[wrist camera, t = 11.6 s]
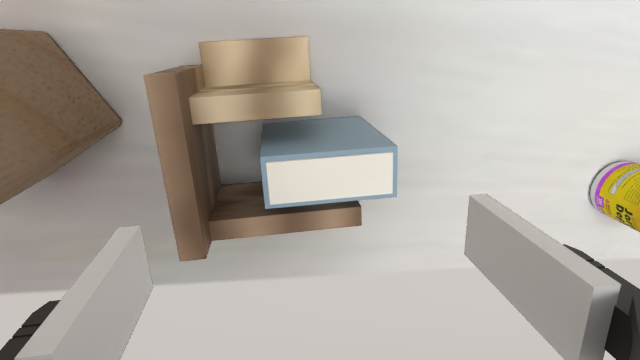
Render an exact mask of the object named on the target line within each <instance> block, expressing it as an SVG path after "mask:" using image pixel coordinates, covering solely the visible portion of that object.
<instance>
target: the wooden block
mask: <svg viewBox="0 0 640 360" xmlns="http://www.w3.org/2000/svg"><path fill="white" fill-rule="evenodd" d="M120 124H121V120H120V119H119V117H118V116H117V115H116V114H115V113H114V112H113V110H112V109H111V108H110V107H109V106H108V104H107V103H106V102H105V101H104V100H103V99H102V97H101V96H100V95H99V94H98V93H97V92H96V90H95V89H94V88H93V87H92V86H91V85H90V83H89V82H88V81H87V80H86V79H85V78H84V76H83V75H82V74H81V73H80V72H79V71H78V69H77V68H76V67H75V66H74V65H73V63H72V62H71V61H70V60H69V59H68V58H67V56H66V55H65V54H64V53H63V52H62V51H61V49H60V48H59V47H58V46H57V45H56V44H55V42H54V41H53V40H52V39H51V38H50V37H49V35H48V34H46V33H45V32H43V31H24V30H6V29H0V204H2V203H4V202H5V201H7V200H9V199H10V198H12V197H14V196H15V195H17V194H19V193H20V192H22V191H24V190H25V189H27V188H29V187H30V186H32V185H34V184H36V183H37V182H39V181H41V180H42V179H44V178H46V177H47V176H49V175H50V174H51V173H53V172H54V171H56V170H57V169H59V168H60V167H61V166H63V165H64V164H66V163H67V162H69V161H70V160H71V159H73V158H74V157H76V156H77V155H79V154H80V153H81V152H83V151H84V150H86V149H87V148H89V147H90V146H91V145H93V144H94V143H96V142H97V141H99V140H100V139H101V138H103V137H104V136H106V135H107V134H109V133H110V132H111V131H113V130H114V129H116V128H117V127H119V126H120Z"/></svg>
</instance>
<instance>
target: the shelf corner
mask: <svg viewBox="0 0 640 360" xmlns="http://www.w3.org/2000/svg"><path fill="white" fill-rule="evenodd" d="M144 80H145V85H146V90H147V95H148V101H149V106H150V111H151V116H152V121H153V126H154V131H155V136H156V142H157V147H158V152H159V157H160V162H161V167H162V172H163V177H164V183H165V188H166V193H167V198H168V203H169V208H170V213H171V218H172V224H173V229H174V234H175V239H176V244H177V249H178V254H179V259H180V261H189V260H198V259H206V258H207V254H208V251H209V248H210V244H211V241H214V240H224V239H234V238H243V237H253V236H263V235H273V234H283V233H292V232H302V231H312V230H322V229H332V228H342V227H351V226H361V225H362V222H361V205H360V204H359V202H358V200H357V201H346V202H335V203H325V204H314V205H303V206H293V207H282V208H271V209H265V202H264V193H263V183H262V182H254V183H243V184H232V185H221V182H220V175H219V168H218V161H217V154H216V147H215V140H214V133H213V127H212V123H207V124H194V125H193V123H192V117H191V111H190V105H189V98H190V97H191V96H193V95H194V94H196V93H197V92H199V91H200V90H202V89H203V88H205V81H204V74H203V68H202V65H191V66H180V67H176V68H172V69H168V70H164V71H160V72H156V73H152V74H148V75H144Z"/></svg>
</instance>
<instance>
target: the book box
mask: <svg viewBox="0 0 640 360" xmlns="http://www.w3.org/2000/svg"><path fill="white" fill-rule="evenodd" d="M260 164H261V174H262V183H263V193H264V202H265V209H271V208H282V207H293V206H303V205H314V204H325V203H335V202H346V201H357V200H368V199H378V198H389V197H397V145H396V144H394V143H393V142H392V141H391V140H389V139H388V138H387V137H386V136H384V135H383V134H382V133H381V132H379V131H378V130H377V129H376V128H374V127H373V126H372V125H371V124H369V123H368V122H367V121H366V120H364V119H363V118H362V117H361V116H354V117H341V118H327V119H313V120H300V121H286V122H272V123H263V128H262V139H261V149H260Z"/></svg>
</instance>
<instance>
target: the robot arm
mask: <svg viewBox="0 0 640 360" xmlns="http://www.w3.org/2000/svg"><path fill="white" fill-rule="evenodd" d="M464 254H465V255H466V256H467V257H468V259H469V260H470V261H471V262H472V263H473V264H474V265H475V266H476V267H477V268H478V269H479V270H480V271H481V272H482V273H483V274H484V275H485V276H486V277H487V279H488V280H489V281H490V282H491V283H492V284H493V285H494V286H495V287H496V288H497V289H498V290H499V291H500V292H501V293H502V294H503V295H504V296H505V297H506V298H507V299H508V301H509V302H510V303H511V304H512V305H513V306H514V307H515V308H516V309H517V310H518V311H519V312H520V313H521V314H522V315H523V316H524V317H525V318H526V320H527V321H528V322H529V323H530V324H531V325H532V326H533V327H534V328H535V329H536V330H537V331H538V332H539V333H540V334H541V335H542V336H543V337H544V338H545V339H546V341H548V343H549V344H550V345H551V346H552V347H553V348H554V349H555V350H556V351H557V352H558V353H559V354H560V355H561V356H562V357H563V358H564V359H565V360H603V357H604V353H605V350H606V351H607V352H609V353H610V354H611V355H612V356H613V357H614V358H616V360H640V289H639V288H637V287H635V286H634V285H632V284H631V283H629V282H628V281H626V280H625V279H623V278H622V277H620V276H619V275H617V274H616V273H614V272H613V271H611V270H610V269H608V268H605V266H603V265H602V264H600V263H599V262H597V261H594V259H593V258H591V257H590V256H588V255H587V254H585V253H584V252H582V251H580V250H577V249H575V248H572V247H570V246H568V245H565V244H564V245H562V244H561V243H559V242H558V241H556V240H555V239H553V238H552V237H550V236H549V235H547V234H546V233H544V232H543V231H541V230H540V229H538V228H537V227H535V226H534V225H532V224H531V223H529V222H528V221H527V220H525V219H524V218H522V217H521V216H519V215H518V214H516V213H515V212H513V211H512V210H510V209H509V208H507V207H506V206H504V205H503V204H501V203H500V202H498V201H497V200H495V199H494V198H492V197H491V196H489V195H488V194H479V195H469V206H468V218H467V229H466V240H465V252H464ZM152 289H153V285H152V280H151V275H150V270H149V266H148V261H147V256H146V251H145V247H144V242H143V237H142V232H141V228H140V225H139V226H128V227H119V228H118V229H117V230H116V231H115V233H114V234H113V235H112V237H111V238H110V239H109V240H108V242H107V243H106V244H105V245H104V247H103V248H102V249H101V250H100V252H99V253H98V254H97V255H96V257H95V258H94V259H93V260H92V262H91V263H90V264H89V265H88V267H87V268H86V269H85V270H84V272H83V273H82V274H81V275H80V277H79V278H78V279H77V280H76V282H75V283H74V284H73V285H72V287H71V288H70V289H69V290H68V292H67V293H66V294H65V296H64V297H63V298H62V299H61V300H57V301H49V302H48V303H46V304H45V305H43V306H42V307H41V308H39V309H38V310H36V311H35V312H33V313H32V314H31V315H30V317H29V318H28V319H27V320H26V321H25V323H24V324H23V325H22V328H19V329H18V331H17V332H16V333H15V334H14V335H13V338H12V339H10V340H9V341H8V342H7V343H6V345H5V346H4V347H3V348H2V349H1V350H0V360H120V359H121V357H122V355H123V352H124V350H125V348H126V346H127V344H128V341H129V339H130V337H131V335H132V332H133V331H134V328H135V326H136V324H137V322H138V320H139V317H140V315H141V313H142V311H143V309H144V307H145V304H146V302H147V300H148V298H149V295H150V293H151V291H152Z"/></svg>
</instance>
